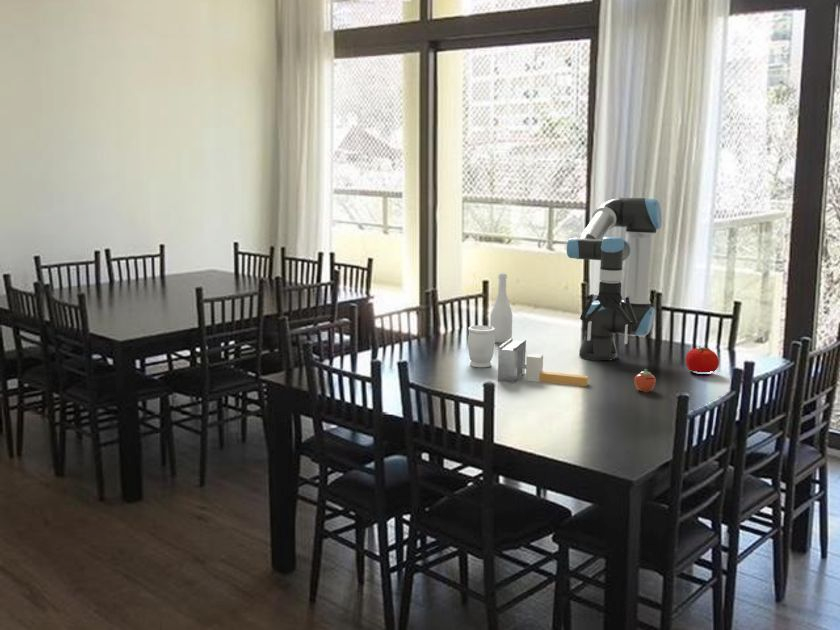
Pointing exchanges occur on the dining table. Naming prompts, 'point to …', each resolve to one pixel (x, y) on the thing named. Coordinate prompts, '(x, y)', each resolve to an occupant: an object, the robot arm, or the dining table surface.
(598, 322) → the robot arm
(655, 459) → the dining table surface
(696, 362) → the tomato
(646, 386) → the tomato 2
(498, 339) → the wine bottle
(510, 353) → the box
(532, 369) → the plug
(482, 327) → the jar
